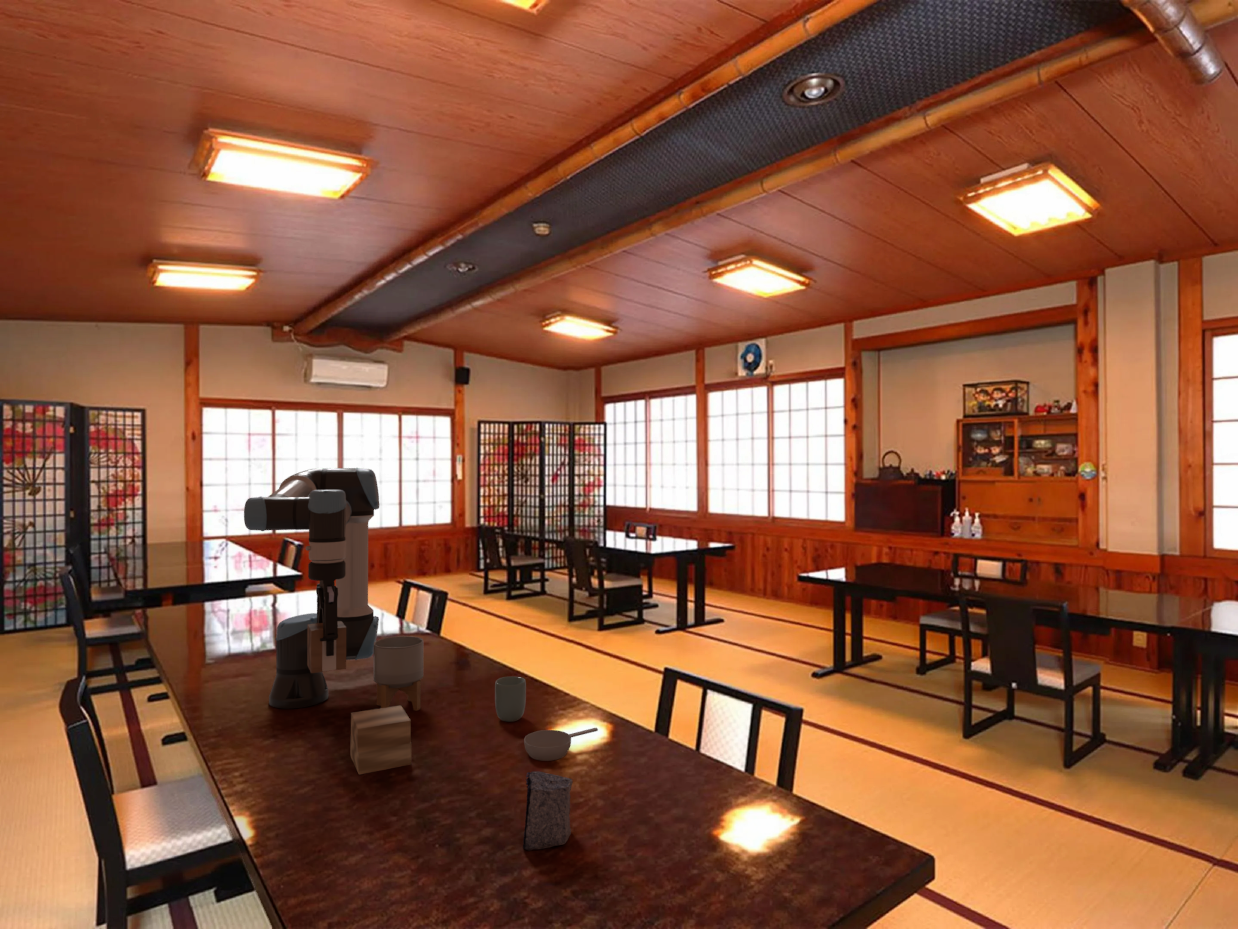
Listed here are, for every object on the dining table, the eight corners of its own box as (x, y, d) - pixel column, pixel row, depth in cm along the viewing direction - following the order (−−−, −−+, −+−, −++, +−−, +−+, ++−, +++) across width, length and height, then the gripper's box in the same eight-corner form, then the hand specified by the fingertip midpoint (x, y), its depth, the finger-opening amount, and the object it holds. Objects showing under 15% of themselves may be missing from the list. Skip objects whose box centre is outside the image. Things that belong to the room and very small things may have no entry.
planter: (432, 702, 201) (432, 638, 201) (404, 717, 188) (404, 649, 188) (393, 697, 205) (393, 634, 205) (362, 712, 193) (363, 645, 193)
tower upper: (350, 734, 164) (351, 712, 164) (400, 726, 169) (400, 705, 169) (357, 752, 154) (357, 728, 154) (410, 743, 159) (410, 720, 159)
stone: (510, 860, 124) (516, 815, 134) (566, 868, 125) (569, 823, 135) (522, 805, 121) (528, 763, 130) (580, 814, 122) (582, 772, 131)
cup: (519, 725, 183) (519, 686, 183) (490, 723, 185) (490, 684, 185) (529, 715, 191) (529, 677, 191) (501, 713, 192) (501, 675, 192)
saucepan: (517, 749, 168) (517, 733, 168) (587, 736, 177) (587, 720, 177) (534, 767, 159) (534, 749, 159) (607, 752, 167) (607, 735, 167)
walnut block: (307, 665, 159) (307, 624, 159) (341, 661, 162) (341, 621, 162) (311, 673, 153) (311, 630, 153) (346, 668, 156) (346, 627, 156)
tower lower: (350, 757, 164) (350, 735, 164) (400, 748, 169) (400, 727, 169) (358, 775, 154) (359, 752, 154) (411, 765, 159) (411, 742, 159)
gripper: (303, 556, 164) (303, 657, 164) (314, 567, 147) (313, 680, 147) (338, 554, 168) (338, 653, 168) (353, 565, 151) (352, 675, 151)
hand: (326, 665), depth 158 cm, fingers closed on walnut block, 7 cm apart
